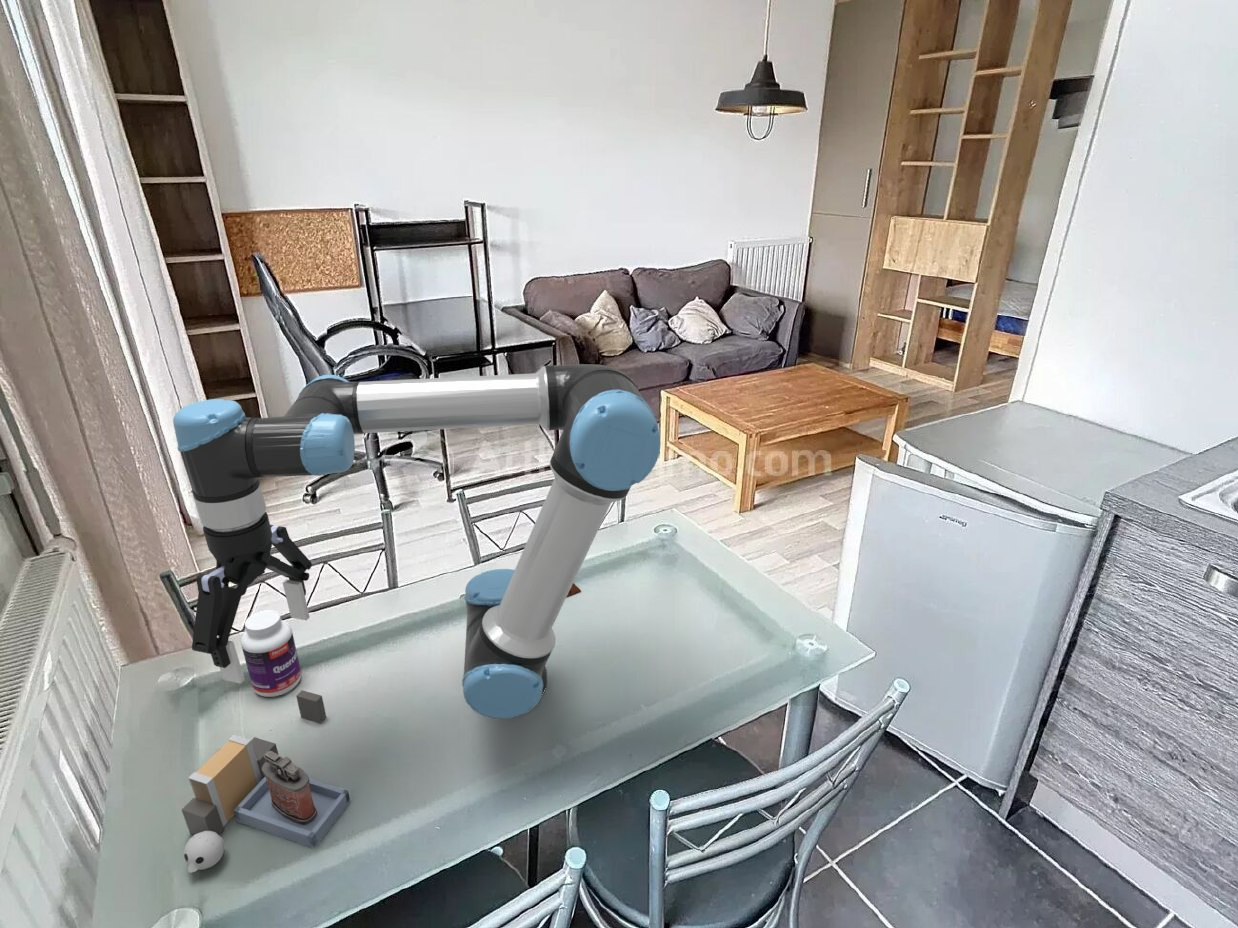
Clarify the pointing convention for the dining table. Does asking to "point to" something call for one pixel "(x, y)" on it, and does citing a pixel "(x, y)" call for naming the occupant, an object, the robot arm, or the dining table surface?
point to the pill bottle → (270, 654)
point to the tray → (266, 818)
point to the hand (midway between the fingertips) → (269, 646)
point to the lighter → (289, 789)
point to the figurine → (203, 850)
